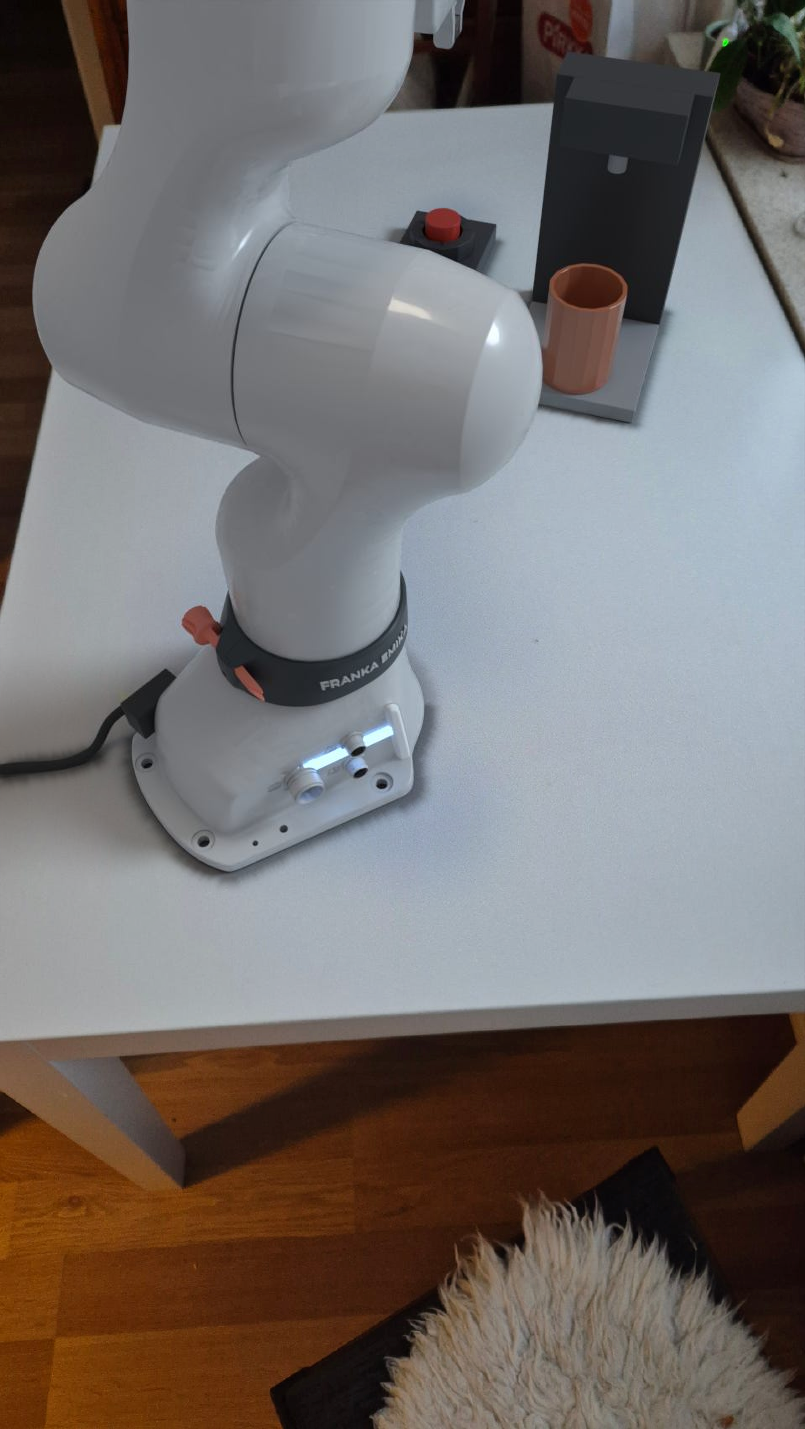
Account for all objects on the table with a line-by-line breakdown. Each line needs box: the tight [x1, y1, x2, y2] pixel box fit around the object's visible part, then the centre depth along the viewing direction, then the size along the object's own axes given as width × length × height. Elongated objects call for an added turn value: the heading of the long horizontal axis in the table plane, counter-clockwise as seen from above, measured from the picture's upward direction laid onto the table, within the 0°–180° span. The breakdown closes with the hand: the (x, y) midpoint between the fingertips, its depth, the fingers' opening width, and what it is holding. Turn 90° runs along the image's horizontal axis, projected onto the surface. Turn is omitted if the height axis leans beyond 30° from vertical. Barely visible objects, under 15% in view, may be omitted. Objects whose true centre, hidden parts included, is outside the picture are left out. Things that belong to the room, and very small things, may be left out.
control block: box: [399, 210, 498, 274], centre depth 106 cm, size 11×9×4 cm
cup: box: [541, 263, 627, 395], centre depth 93 cm, size 7×7×9 cm
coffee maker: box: [528, 51, 721, 424], centre depth 90 cm, size 17×13×23 cm
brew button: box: [425, 207, 460, 242], centre depth 104 cm, size 4×4×2 cm
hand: (447, 41), depth 90 cm, fingers closed
